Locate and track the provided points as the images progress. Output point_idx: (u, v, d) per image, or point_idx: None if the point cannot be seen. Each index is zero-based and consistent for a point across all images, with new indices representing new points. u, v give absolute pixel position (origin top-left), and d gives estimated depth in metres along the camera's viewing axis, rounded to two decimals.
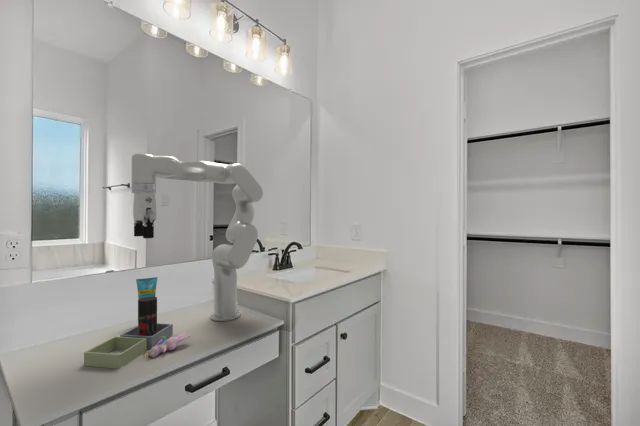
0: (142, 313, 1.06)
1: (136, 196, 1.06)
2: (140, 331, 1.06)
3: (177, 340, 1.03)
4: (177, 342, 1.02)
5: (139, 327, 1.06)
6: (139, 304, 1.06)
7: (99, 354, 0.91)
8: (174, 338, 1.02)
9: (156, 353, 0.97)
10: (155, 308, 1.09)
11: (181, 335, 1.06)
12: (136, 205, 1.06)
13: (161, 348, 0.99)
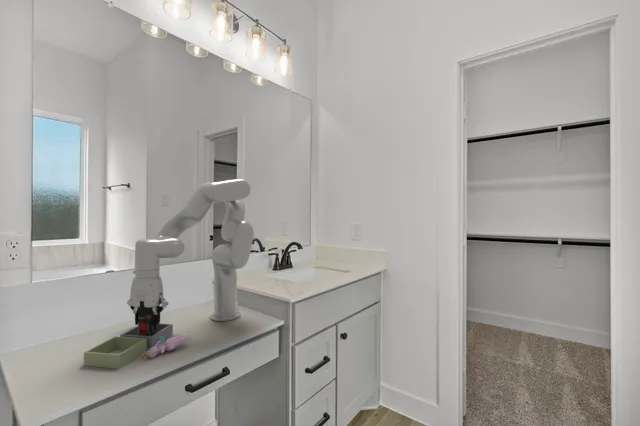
0: (142, 313, 1.06)
1: None
2: (140, 331, 1.06)
3: (176, 341, 1.02)
4: (176, 343, 1.02)
5: (139, 327, 1.06)
6: None
7: (99, 354, 0.91)
8: (173, 339, 1.02)
9: (154, 354, 0.97)
10: None
11: (180, 336, 1.05)
12: None
13: (159, 349, 0.99)
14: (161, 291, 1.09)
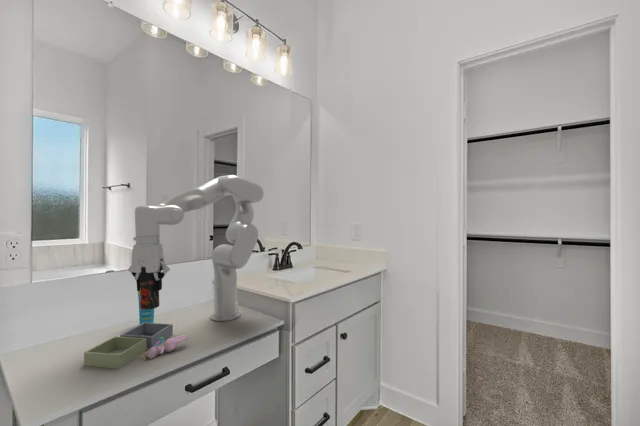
0: (144, 278, 1.06)
1: None
2: (142, 297, 1.07)
3: (175, 341, 1.01)
4: (175, 344, 1.01)
5: (141, 293, 1.07)
6: (141, 270, 1.06)
7: (99, 354, 0.91)
8: (173, 340, 1.01)
9: (153, 354, 0.96)
10: None
11: (180, 336, 1.05)
12: None
13: (159, 349, 0.98)
14: (162, 257, 1.09)
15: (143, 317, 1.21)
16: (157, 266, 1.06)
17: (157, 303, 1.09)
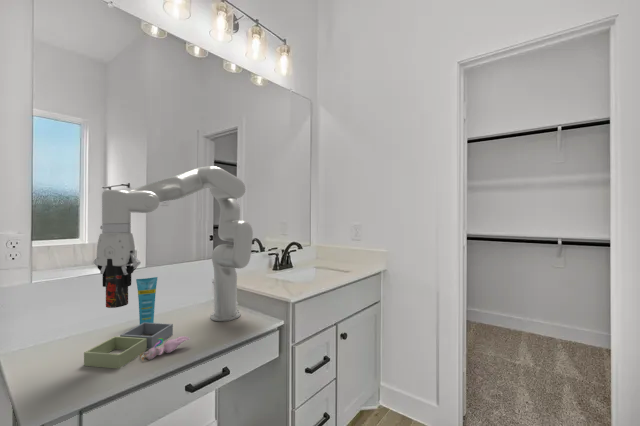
0: (110, 272, 0.93)
1: None
2: (108, 293, 0.93)
3: (175, 343, 1.00)
4: (175, 345, 1.00)
5: (106, 289, 0.94)
6: (107, 263, 0.93)
7: (99, 354, 0.91)
8: (172, 341, 1.00)
9: (152, 355, 0.96)
10: None
11: (180, 338, 1.04)
12: None
13: (158, 350, 0.98)
14: (132, 249, 0.96)
15: (143, 317, 1.21)
16: (125, 258, 0.93)
17: (125, 301, 0.96)
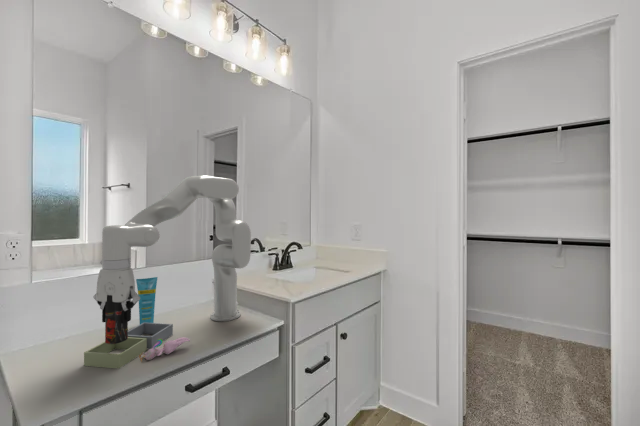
0: (110, 308, 0.93)
1: None
2: (107, 329, 0.94)
3: (174, 344, 1.00)
4: (174, 346, 0.99)
5: (106, 325, 0.94)
6: (107, 299, 0.93)
7: (99, 354, 0.91)
8: (172, 342, 1.00)
9: (151, 356, 0.95)
10: None
11: (180, 339, 1.03)
12: None
13: (157, 351, 0.97)
14: (132, 284, 0.96)
15: (143, 317, 1.21)
16: (125, 295, 0.93)
17: (125, 336, 0.96)
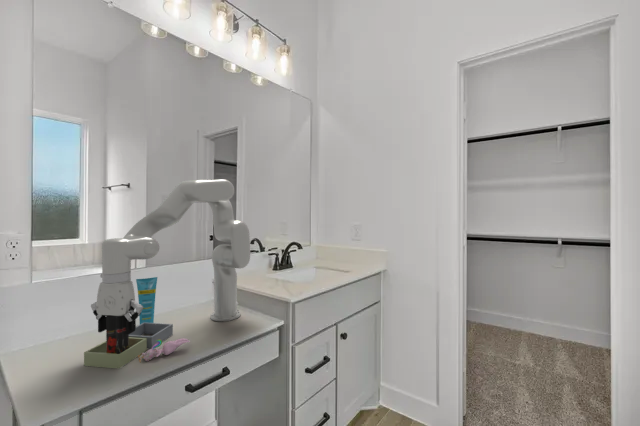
0: (111, 326, 0.94)
1: None
2: (108, 347, 0.94)
3: (173, 345, 0.99)
4: (173, 347, 0.99)
5: (107, 343, 0.94)
6: (108, 317, 0.94)
7: (99, 354, 0.91)
8: (171, 343, 0.99)
9: (149, 357, 0.95)
10: (126, 321, 0.96)
11: (180, 340, 1.02)
12: None
13: (156, 352, 0.97)
14: (132, 297, 0.96)
15: (143, 317, 1.21)
16: (125, 308, 0.93)
17: None
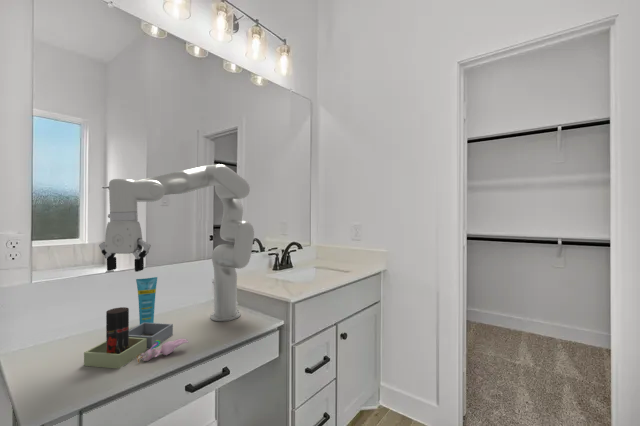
0: (111, 326, 0.94)
1: None
2: (108, 347, 0.94)
3: (172, 345, 0.98)
4: (172, 348, 0.98)
5: (107, 343, 0.94)
6: (108, 317, 0.94)
7: (99, 354, 0.91)
8: (169, 343, 0.99)
9: (148, 357, 0.94)
10: (126, 321, 0.96)
11: (179, 340, 1.02)
12: None
13: (155, 352, 0.96)
14: (139, 236, 0.98)
15: (143, 317, 1.21)
16: (133, 246, 0.96)
17: None
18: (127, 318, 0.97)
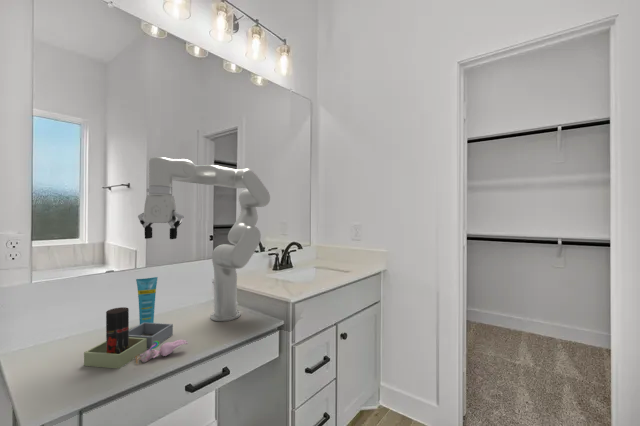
0: (111, 326, 0.94)
1: None
2: (108, 347, 0.94)
3: (171, 346, 0.98)
4: (170, 349, 0.97)
5: (107, 343, 0.94)
6: (108, 317, 0.94)
7: (99, 354, 0.91)
8: (168, 344, 0.98)
9: (146, 358, 0.94)
10: (126, 321, 0.96)
11: (178, 341, 1.01)
12: None
13: (153, 353, 0.96)
14: (174, 209, 1.11)
15: (143, 317, 1.21)
16: (169, 216, 1.08)
17: None
18: (127, 318, 0.97)
